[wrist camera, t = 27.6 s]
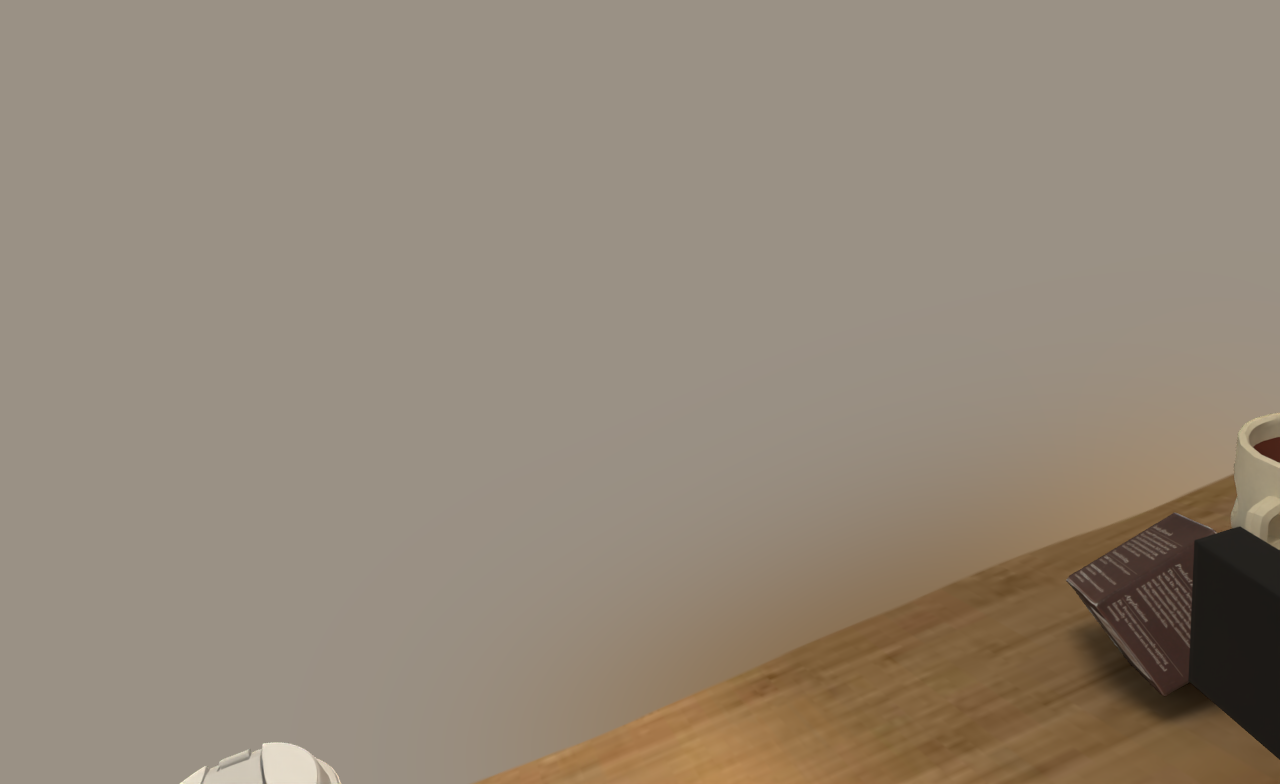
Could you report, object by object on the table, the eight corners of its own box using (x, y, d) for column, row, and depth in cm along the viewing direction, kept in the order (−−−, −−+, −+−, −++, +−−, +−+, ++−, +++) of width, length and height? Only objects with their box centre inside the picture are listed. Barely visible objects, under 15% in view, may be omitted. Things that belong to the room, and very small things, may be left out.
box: (1126, 663, 51) (1241, 597, 50) (1163, 701, 45) (1295, 627, 44) (1062, 577, 52) (1173, 509, 50) (1091, 603, 46) (1218, 527, 45)
